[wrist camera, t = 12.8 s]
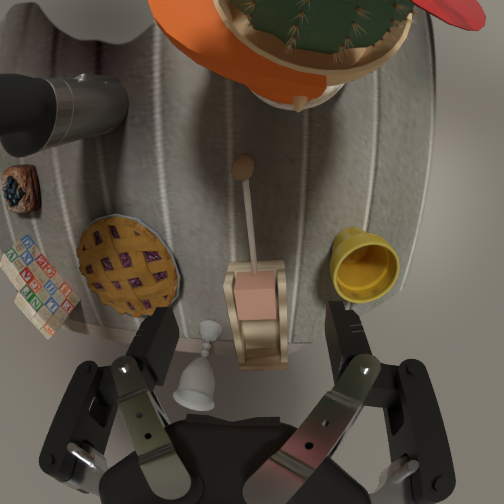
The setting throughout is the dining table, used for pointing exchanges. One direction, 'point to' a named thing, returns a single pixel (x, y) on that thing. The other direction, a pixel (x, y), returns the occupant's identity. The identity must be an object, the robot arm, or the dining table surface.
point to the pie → (128, 265)
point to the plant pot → (362, 265)
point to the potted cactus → (299, 40)
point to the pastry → (21, 189)
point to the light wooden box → (259, 322)
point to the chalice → (199, 374)
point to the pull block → (252, 260)
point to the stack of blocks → (38, 287)
